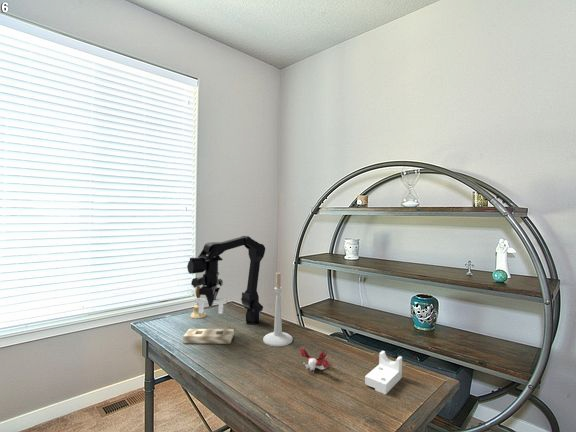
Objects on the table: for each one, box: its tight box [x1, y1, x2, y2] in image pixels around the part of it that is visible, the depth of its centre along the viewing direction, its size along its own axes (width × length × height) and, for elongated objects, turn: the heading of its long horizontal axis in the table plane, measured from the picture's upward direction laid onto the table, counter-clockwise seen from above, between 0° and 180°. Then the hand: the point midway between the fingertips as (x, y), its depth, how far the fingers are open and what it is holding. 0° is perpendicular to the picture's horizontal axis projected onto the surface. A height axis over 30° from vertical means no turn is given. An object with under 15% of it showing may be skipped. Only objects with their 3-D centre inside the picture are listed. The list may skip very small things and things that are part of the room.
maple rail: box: [182, 328, 235, 345], centre depth 140 cm, size 20×8×3 cm, turn 90°
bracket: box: [364, 350, 403, 395], centre depth 108 cm, size 13×7×8 cm, turn 139°
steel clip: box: [194, 297, 228, 315], centre depth 145 cm, size 14×2×6 cm, turn 88°
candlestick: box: [262, 272, 294, 348], centre depth 140 cm, size 13×13×30 cm
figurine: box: [299, 345, 334, 374], centre depth 116 cm, size 15×12×7 cm
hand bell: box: [189, 285, 207, 320], centre depth 169 cm, size 8×8×16 cm
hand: (211, 305), depth 145 cm, fingers closed on steel clip, 2 cm apart
